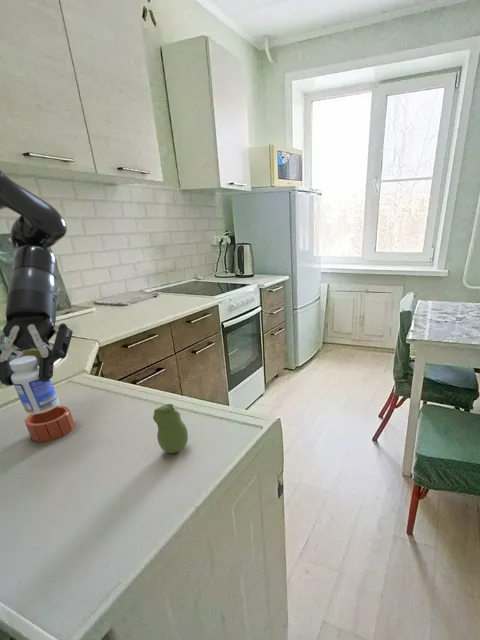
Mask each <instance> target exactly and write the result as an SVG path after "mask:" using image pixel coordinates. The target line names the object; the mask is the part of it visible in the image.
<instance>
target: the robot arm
mask: <svg viewBox="0 0 480 640" xmlns="http://www.w3.org/2000/svg"><path fill="white" fill-rule="evenodd" d="M3 209H8V210H11V211H12V212H14V213H16V214H18V215H19V217H18V218H16V219H15V221H14V222H13V224H12V226H11V229H10V235H9V236H10V242H11V249H12V252H13V264H12V272H11V277H10V279H9V283H8V290H7V299H6V308H5V319H6V323H5V325H4V326H3V328H2V329H1V330H0V384H3V385H4V386H7V387H10V386H12V387H13V386H14V385H13V383H12V380H11V376H12V374H13V373H14V372H15V371H12V369H11V367H10V364H9V362H10V361H12V360H14V359H16V358H19V357H23V356H24V353H25V351H28V350H32V349H34V350H38V352H39V354H40V356H41V357H42V358H39V361H38V363H39V365H38V366H39V375H38V377H39V379H40V380H41V381H43V382H49V381H50V380H51V379H52V378H53V376H54V368H55V367H54V365H55V362H56V361H57V360H59V359H65V358H66V357H67V355H68V351H69V347H70V343H71V341H72V337H73V333H74V332H73V329H71V328H70V327H69V326H68V325H67V324H66V323H64V322H63V323H60V324H59V325H57V324H56V322H57V308H58V299H59V297H58V264H59V263H58V259H57V258H56V257H57V256H56V255H55V253H53V252H52V251H51V250H50V249H51V248H52V247H53V246H54V245H56V244H57V243H58V242H59V241H61V240H62V239H63V238H64V237H65V236H66V234H67V232H68V225H67V222H66V220H65V219H64V217H63V215H62V214H61V213H60V212H59V210H57V209H56V208H55V207H54V206H53V205H52V204H50V203H49V202H48V201H45V199H42V198H41V197H39V196H38V195H36V194H35V193H34V192H31V191H30V190H28V189H27V188H26V187H24V186H22V185H21V184H18V183H17V182H15V181H14V180H13V179H11V178H10V177H9V176H8V175H7V174H6V173H5V172H4V171H3V170H2V169H1V168H0V211H1V210H3ZM54 335H55V339H54V342H53V346H52V344H51V343H50V340H51V339H52V338H53V337H54ZM5 339H6V340H5ZM15 347H16V348H15Z"/></svg>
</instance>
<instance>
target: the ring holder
mask: <svg viewBox="0 0 480 640" xmlns="http://www.w3.org/2000/svg"><path fill="white" fill-rule="evenodd" d="M24 424H25V426H26V428H27V431H28V433H29V435H30V437H31V439H32V441H34V442H38V443H44V442H49V441H51V442H52V441H54V440H56V439H59V438H62V437H64V436H66V435H68V434H69V433H70V432H72V431H73V430H74V428H75V427H76V423H75V421H74V418H73V415H72V413H71V410H70V408H69V407H68V406H65V405H58V406H56V407H55V408H54V409H52V410H50V411H47V412H45V413H40V414H29V415H28V416H27V417H26V418H25V419H24Z"/></svg>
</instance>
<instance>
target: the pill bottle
mask: <svg viewBox="0 0 480 640" xmlns="http://www.w3.org/2000/svg"><path fill="white" fill-rule="evenodd" d="M9 364H10V367H11V369H12V371H15V372H14V373H13V374H12V376H11V380H12V383H13V385H12V386H13V387H14V389H15V391H16V393H17V395H18V398H19V400H20V402H21V405H22V406H23V409H24V411H25V412H26V413H27V414H29V415H31V414H40V413H45V412H47V411H50V410H52V409H54V408H55V407H56V406H59V404H60V399H59V397H58V395H57V392H56V390H55V388H54V385H53V383H52V380H51V379H50V381H49V382H43V381H41V380H40V379H39V377H38V375H39V360H38V358H37V356H35V355H22V356H20V357H19V358H16V359H14V360H12V361H10V362H9Z"/></svg>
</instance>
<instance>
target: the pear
mask: <svg viewBox="0 0 480 640" xmlns="http://www.w3.org/2000/svg"><path fill="white" fill-rule="evenodd" d="M152 419H153V421H154V423H156V427H157V437H156V439H157V442H158V445H159V447H160V448H161V450H162V451H164V452H166V453H169V454H176V453H179V452H181V451H182V450H183V449H185V447H186V446H187V444H188V441H189V440H188V439H189V433H188V429H187V425H186V424H185V422H184V421H183V420H182V418H181V414H180V412H179V411H178V410H177V409H176V407H175V405H174V404H173V403H166V404H164V405H161V406H160V407H158V408H155V409H154V411H153V416H152Z"/></svg>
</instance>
